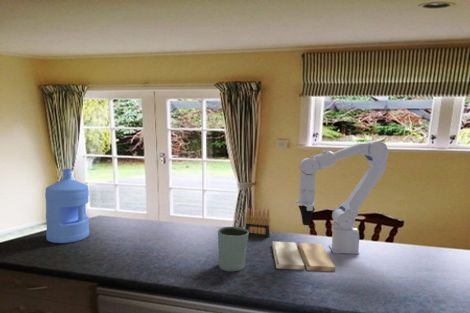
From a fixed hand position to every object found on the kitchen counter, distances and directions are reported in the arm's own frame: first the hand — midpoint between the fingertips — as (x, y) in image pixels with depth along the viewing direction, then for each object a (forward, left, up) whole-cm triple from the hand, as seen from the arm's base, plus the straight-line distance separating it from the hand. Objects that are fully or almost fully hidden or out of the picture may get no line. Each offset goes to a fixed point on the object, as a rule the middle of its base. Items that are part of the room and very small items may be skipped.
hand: (305, 224), depth 128 cm
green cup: (+27, +19, -10) cm, 34 cm away
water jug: (+95, -3, -10) cm, 96 cm away
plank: (+8, +9, -9) cm, 15 cm away
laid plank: (-2, +9, -9) cm, 13 cm away
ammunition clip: (+18, -14, -10) cm, 25 cm away
